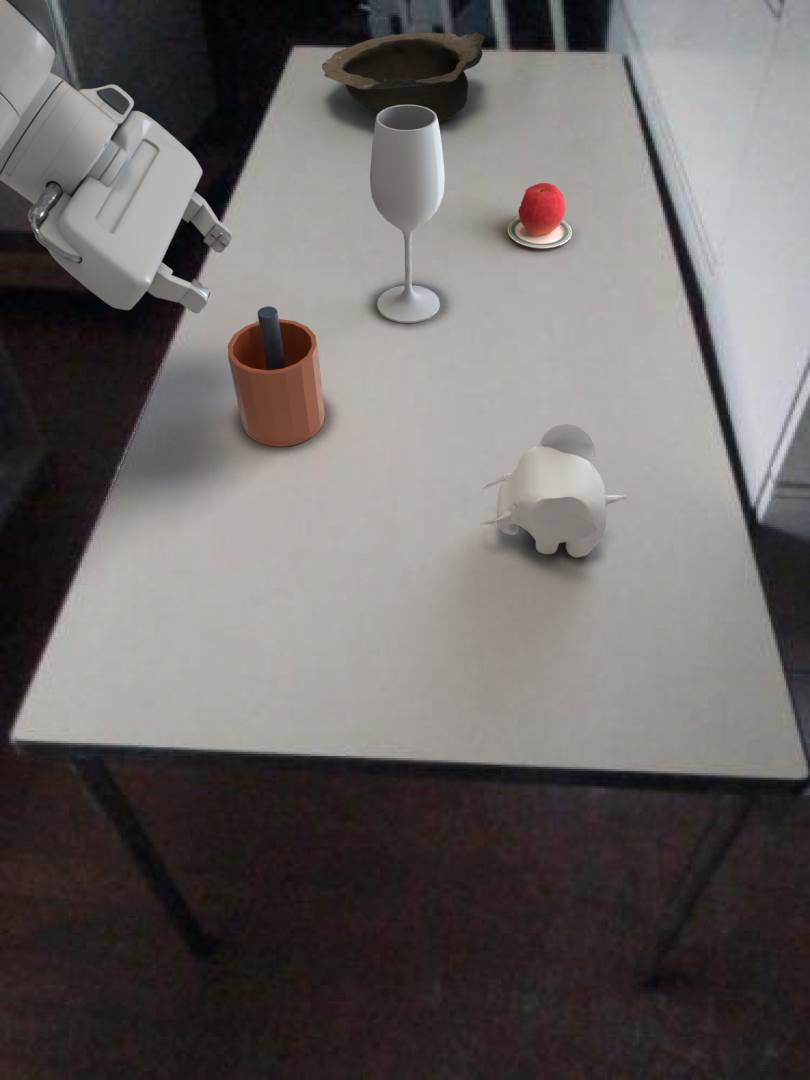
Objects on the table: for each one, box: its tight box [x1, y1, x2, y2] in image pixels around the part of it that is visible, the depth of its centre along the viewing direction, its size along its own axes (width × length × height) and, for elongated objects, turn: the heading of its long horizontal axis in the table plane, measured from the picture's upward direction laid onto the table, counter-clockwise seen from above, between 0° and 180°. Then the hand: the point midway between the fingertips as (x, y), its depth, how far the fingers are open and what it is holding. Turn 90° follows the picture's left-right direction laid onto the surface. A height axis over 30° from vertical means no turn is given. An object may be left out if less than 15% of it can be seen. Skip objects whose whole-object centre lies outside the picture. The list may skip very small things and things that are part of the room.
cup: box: [227, 318, 326, 448], centre depth 82 cm, size 8×8×9 cm
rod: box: [256, 306, 286, 370], centre depth 81 cm, size 2×2×12 cm
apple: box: [507, 182, 573, 249], centre depth 105 cm, size 8×8×6 cm
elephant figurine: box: [479, 423, 627, 558], centre depth 72 cm, size 10×12×9 cm
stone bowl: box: [321, 31, 486, 124], centre depth 130 cm, size 25×25×9 cm
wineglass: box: [369, 105, 445, 324], centre depth 90 cm, size 8×8×21 cm
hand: (216, 272), depth 72 cm, fingers open, 8 cm apart
